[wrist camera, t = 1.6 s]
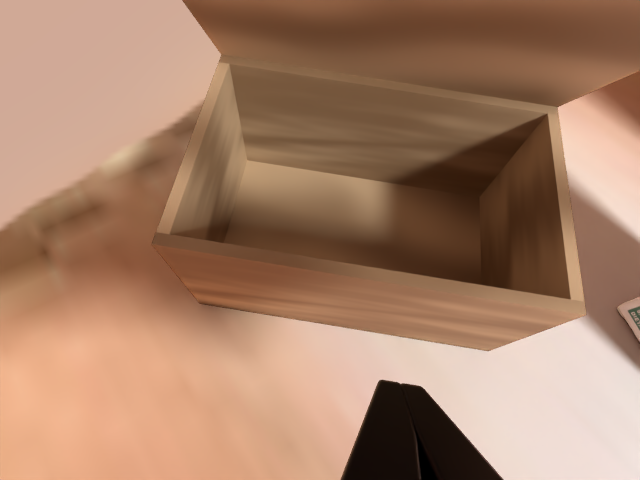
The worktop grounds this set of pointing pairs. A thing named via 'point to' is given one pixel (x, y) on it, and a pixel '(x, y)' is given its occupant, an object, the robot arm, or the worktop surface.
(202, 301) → the light wood open box
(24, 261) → the worktop surface
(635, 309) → the syrup box
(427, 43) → the flap
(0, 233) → the worktop surface
